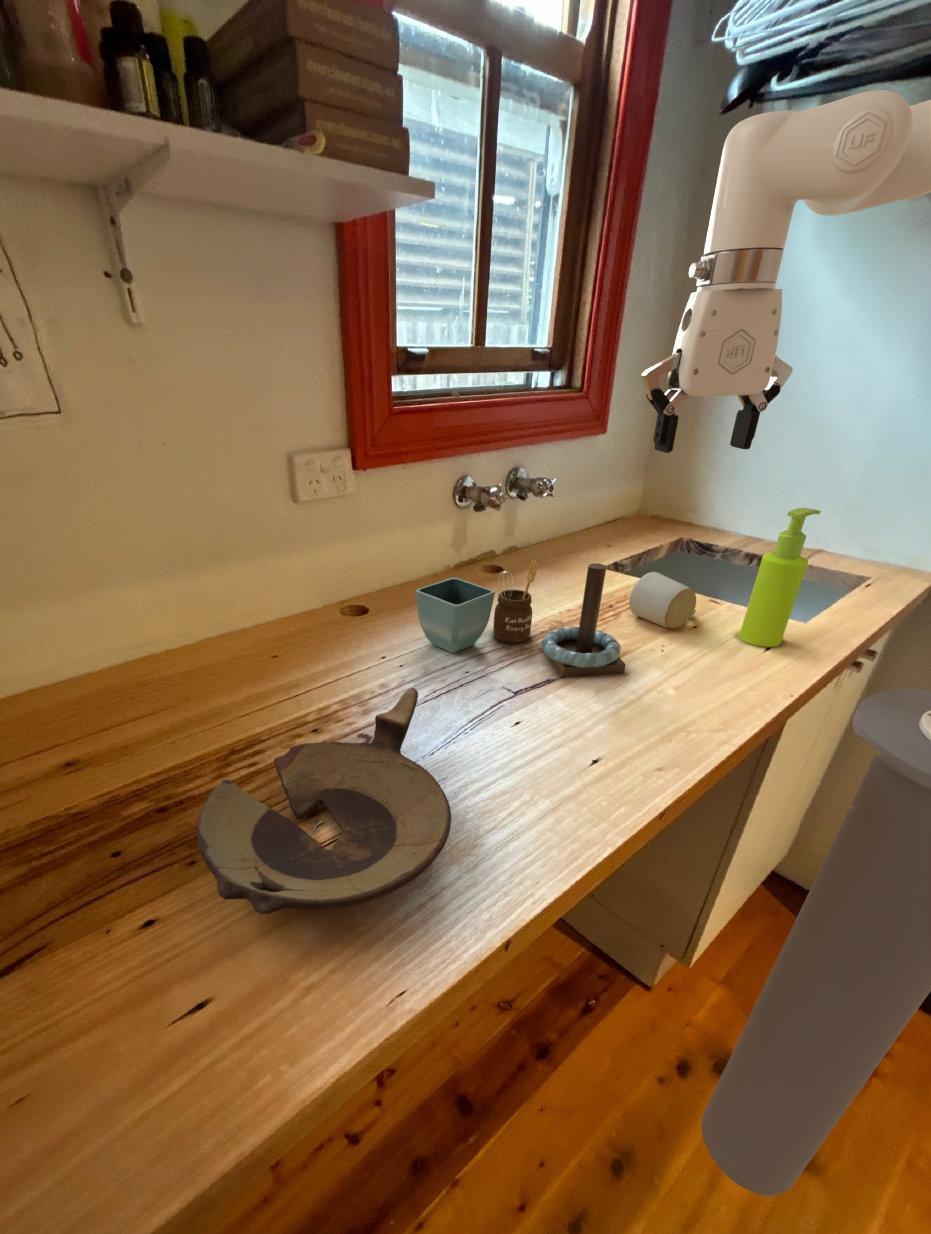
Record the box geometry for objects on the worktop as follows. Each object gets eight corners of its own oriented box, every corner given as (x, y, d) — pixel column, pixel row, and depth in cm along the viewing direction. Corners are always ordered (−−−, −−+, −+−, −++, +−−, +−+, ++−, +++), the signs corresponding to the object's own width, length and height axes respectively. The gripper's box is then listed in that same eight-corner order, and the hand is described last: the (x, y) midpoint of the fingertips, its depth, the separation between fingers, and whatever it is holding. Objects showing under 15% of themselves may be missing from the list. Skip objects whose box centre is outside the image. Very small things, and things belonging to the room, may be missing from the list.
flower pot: (492, 645, 95) (497, 590, 91) (454, 662, 90) (456, 605, 86) (451, 628, 101) (453, 576, 96) (413, 644, 96) (413, 590, 91)
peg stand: (599, 646, 95) (615, 554, 87) (624, 673, 87) (643, 575, 79) (543, 649, 94) (554, 557, 86) (563, 677, 86) (577, 578, 79)
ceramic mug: (664, 635, 98) (675, 589, 94) (624, 618, 104) (633, 574, 100) (705, 622, 102) (718, 578, 98) (665, 607, 108) (675, 564, 105)
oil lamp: (155, 849, 57) (136, 785, 53) (389, 727, 75) (387, 672, 71) (292, 1010, 44) (280, 940, 40) (539, 814, 61) (547, 752, 57)
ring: (601, 635, 95) (603, 623, 94) (631, 667, 85) (634, 654, 84) (532, 638, 94) (533, 626, 93) (555, 672, 84) (557, 659, 83)
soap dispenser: (792, 639, 96) (837, 510, 86) (766, 650, 93) (810, 517, 83) (756, 627, 100) (795, 502, 90) (731, 636, 97) (768, 509, 87)
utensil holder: (485, 632, 99) (490, 560, 93) (518, 625, 101) (525, 555, 95) (504, 646, 95) (511, 572, 89) (538, 639, 97) (547, 566, 91)
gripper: (677, 272, 60) (646, 457, 69) (840, 270, 62) (789, 451, 70) (643, 280, 66) (618, 448, 75) (791, 277, 68) (750, 442, 77)
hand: (701, 449), depth 73 cm, fingers open, 9 cm apart
